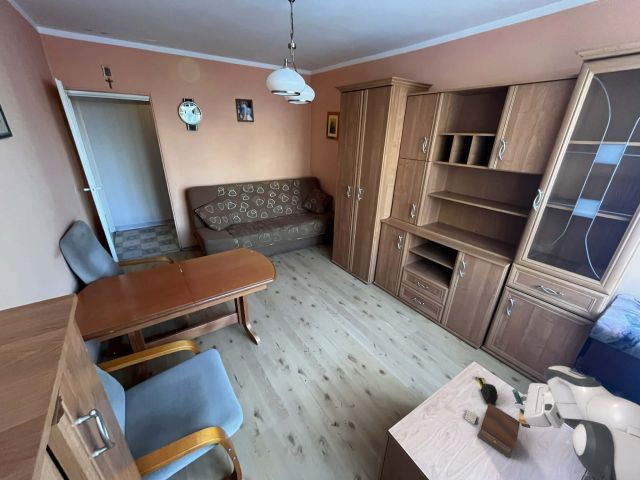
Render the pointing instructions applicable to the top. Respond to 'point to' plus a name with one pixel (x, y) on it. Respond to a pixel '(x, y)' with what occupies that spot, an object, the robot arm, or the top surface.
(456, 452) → the top surface
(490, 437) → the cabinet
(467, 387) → the top surface
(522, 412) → the brush
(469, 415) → the felt pad
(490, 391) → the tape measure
